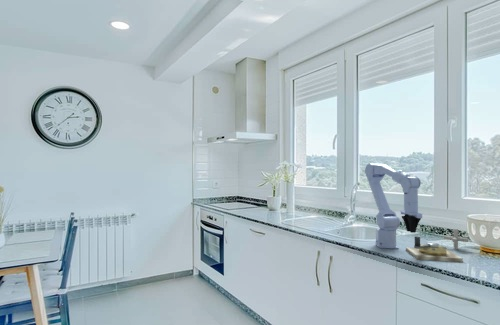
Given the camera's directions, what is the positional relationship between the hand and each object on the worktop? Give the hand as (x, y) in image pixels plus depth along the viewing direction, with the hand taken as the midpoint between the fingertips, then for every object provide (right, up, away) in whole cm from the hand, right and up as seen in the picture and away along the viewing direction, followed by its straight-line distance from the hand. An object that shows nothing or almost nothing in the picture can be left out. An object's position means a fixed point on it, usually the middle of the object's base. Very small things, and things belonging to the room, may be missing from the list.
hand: (411, 231), depth 146 cm
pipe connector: (+28, -11, +11) cm, 32 cm away
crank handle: (+6, -9, -3) cm, 11 cm away
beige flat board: (+9, -10, -2) cm, 14 cm away
